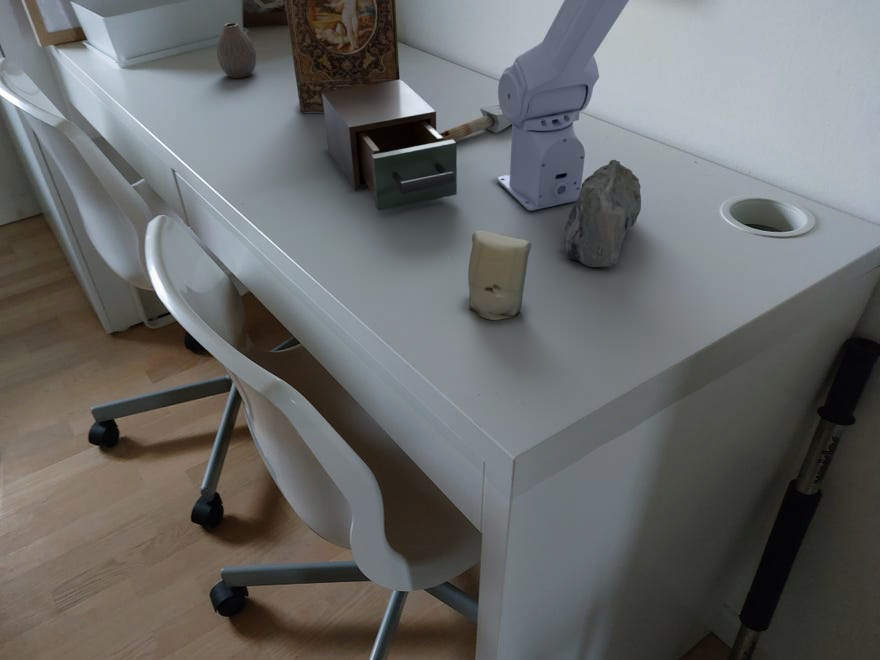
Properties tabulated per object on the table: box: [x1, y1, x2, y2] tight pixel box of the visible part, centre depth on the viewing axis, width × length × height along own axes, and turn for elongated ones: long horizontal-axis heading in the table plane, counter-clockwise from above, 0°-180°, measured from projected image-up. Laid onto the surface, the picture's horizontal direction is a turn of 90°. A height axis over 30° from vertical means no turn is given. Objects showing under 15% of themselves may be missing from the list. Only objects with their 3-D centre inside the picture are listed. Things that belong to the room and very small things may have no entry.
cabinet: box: [322, 78, 437, 192], centre depth 97 cm, size 14×12×9 cm
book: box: [284, 0, 401, 114], centre depth 109 cm, size 16×6×25 cm, turn 84°
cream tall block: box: [467, 230, 532, 321], centre depth 69 cm, size 6×5×8 cm
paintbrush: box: [438, 104, 512, 142], centre depth 106 cm, size 4×3×20 cm
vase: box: [216, 22, 257, 79], centre depth 130 cm, size 7×7×9 cm
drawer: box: [355, 120, 458, 212], centre depth 89 cm, size 17×10×7 cm, turn 19°
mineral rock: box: [564, 159, 642, 268], centre depth 78 cm, size 13×11×10 cm
